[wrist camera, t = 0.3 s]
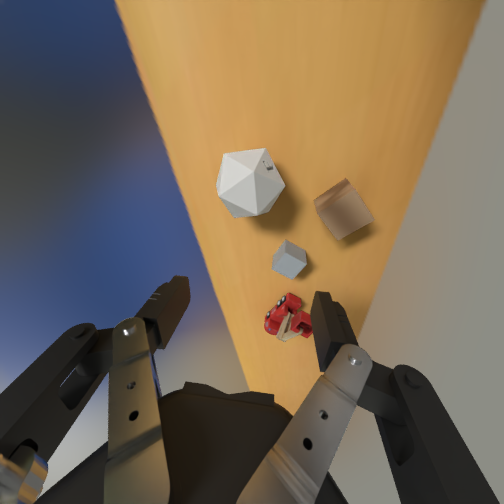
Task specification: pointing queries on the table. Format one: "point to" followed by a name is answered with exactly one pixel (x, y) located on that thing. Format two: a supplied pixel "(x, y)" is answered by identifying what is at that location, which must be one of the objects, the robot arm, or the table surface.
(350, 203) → the walnut block
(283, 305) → the toy fire truck
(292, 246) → the slate block
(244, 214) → the die
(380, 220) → the table surface
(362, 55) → the table surface
